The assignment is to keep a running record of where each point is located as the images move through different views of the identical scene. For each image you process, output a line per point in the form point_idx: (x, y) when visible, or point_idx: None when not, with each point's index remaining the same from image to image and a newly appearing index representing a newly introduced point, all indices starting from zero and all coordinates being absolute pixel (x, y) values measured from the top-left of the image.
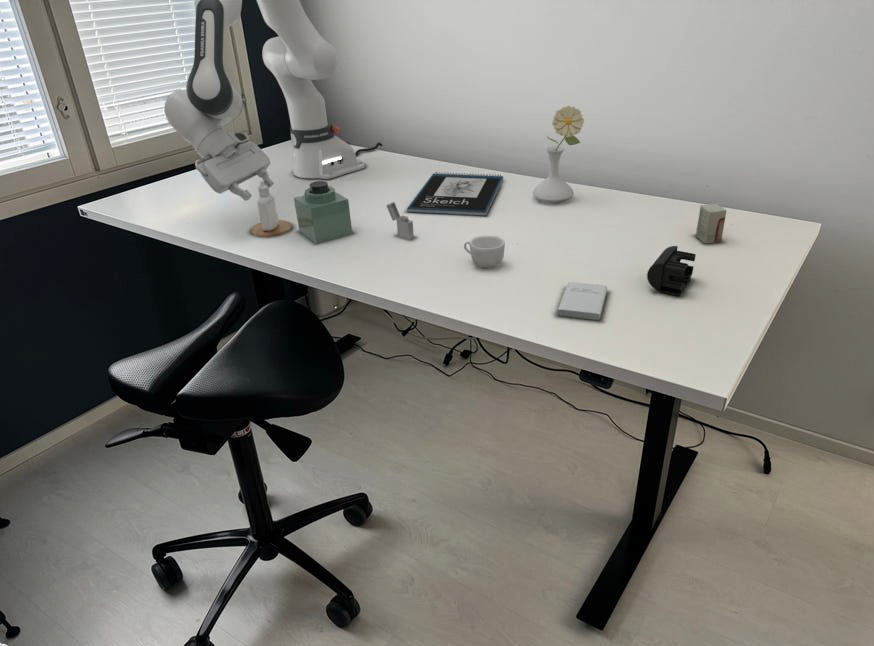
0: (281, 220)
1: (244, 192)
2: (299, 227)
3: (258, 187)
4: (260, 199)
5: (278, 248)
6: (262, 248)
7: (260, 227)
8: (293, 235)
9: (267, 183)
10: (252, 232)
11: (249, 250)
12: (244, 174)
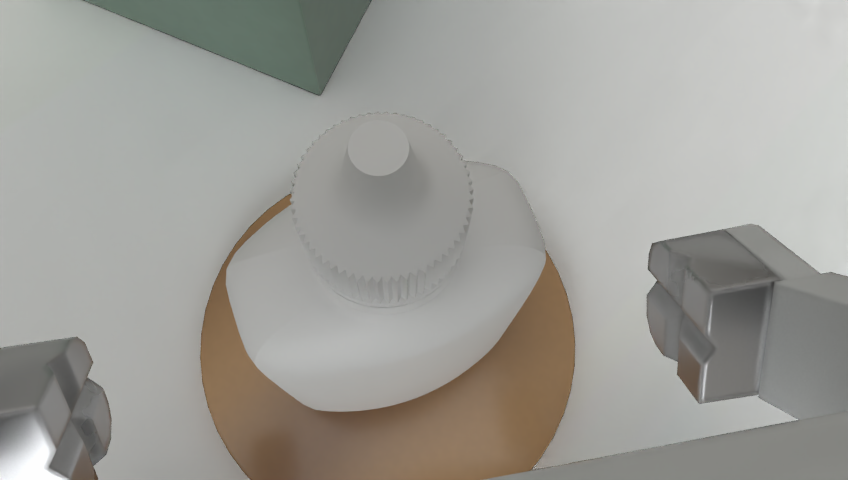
0: (205, 375)
1: (797, 264)
2: (324, 58)
3: (442, 253)
4: (501, 232)
5: (650, 23)
6: (720, 124)
7: (443, 431)
8: (404, 88)
9: (64, 405)
10: (555, 428)
11: (806, 184)
12: (634, 465)
